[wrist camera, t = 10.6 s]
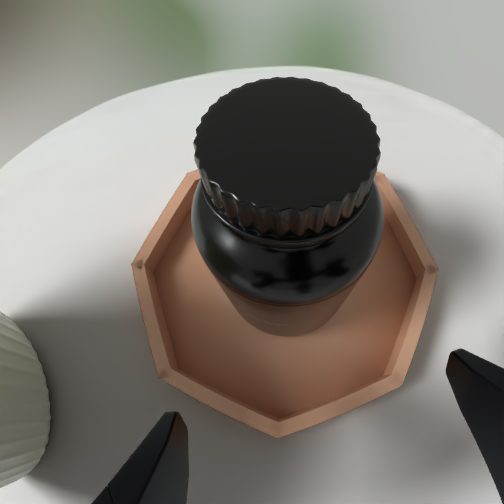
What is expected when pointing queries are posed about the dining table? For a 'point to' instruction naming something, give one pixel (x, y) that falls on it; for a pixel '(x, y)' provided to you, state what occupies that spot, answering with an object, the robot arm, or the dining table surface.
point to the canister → (21, 404)
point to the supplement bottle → (287, 200)
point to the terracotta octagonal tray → (279, 347)
